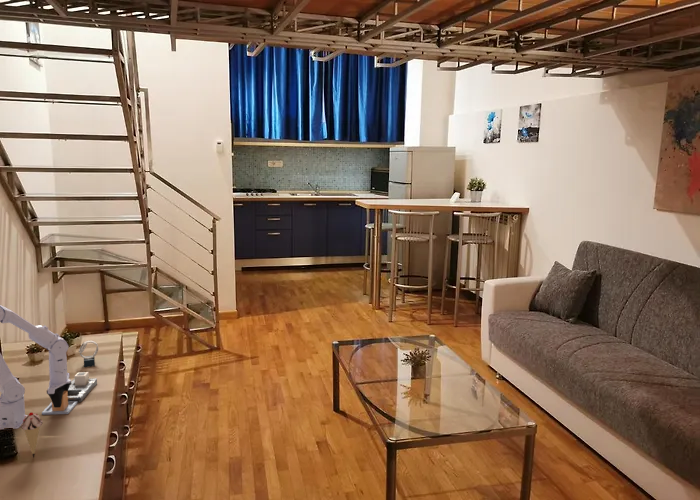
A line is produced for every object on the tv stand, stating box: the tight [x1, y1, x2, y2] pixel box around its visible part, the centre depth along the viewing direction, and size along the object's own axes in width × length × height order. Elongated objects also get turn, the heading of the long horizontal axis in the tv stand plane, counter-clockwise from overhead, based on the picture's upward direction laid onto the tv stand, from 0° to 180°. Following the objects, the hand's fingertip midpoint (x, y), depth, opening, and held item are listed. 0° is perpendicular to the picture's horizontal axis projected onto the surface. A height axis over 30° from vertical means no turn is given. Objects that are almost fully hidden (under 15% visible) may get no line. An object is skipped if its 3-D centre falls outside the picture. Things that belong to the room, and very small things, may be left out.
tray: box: [41, 401, 79, 416], centre depth 193 cm, size 9×9×1 cm
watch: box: [78, 339, 99, 368], centre depth 236 cm, size 6×8×11 cm
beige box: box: [73, 371, 90, 385], centre depth 212 cm, size 4×4×6 cm
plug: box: [52, 391, 69, 411], centre depth 193 cm, size 4×4×6 cm
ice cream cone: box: [20, 412, 44, 458], centre depth 161 cm, size 6×6×15 cm
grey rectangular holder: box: [68, 377, 98, 403], centre depth 207 cm, size 18×9×2 cm, turn 8°
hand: (60, 404), depth 193 cm, fingers closed on plug, 4 cm apart
